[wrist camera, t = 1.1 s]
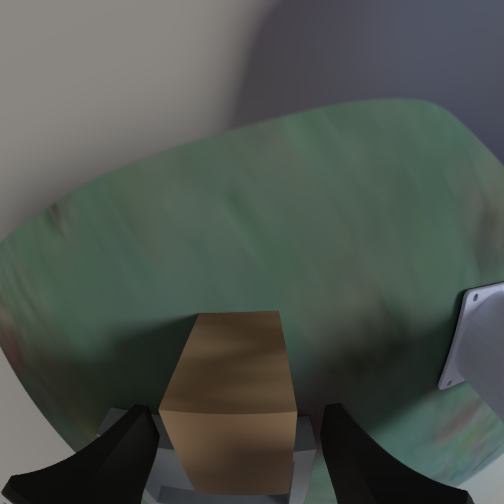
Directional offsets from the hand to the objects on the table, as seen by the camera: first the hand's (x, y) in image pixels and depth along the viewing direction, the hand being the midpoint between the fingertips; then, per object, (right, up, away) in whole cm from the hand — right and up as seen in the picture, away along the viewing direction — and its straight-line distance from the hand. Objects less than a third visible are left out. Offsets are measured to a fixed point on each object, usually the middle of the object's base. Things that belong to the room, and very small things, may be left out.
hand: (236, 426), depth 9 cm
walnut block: (0, +1, +5) cm, 5 cm away
